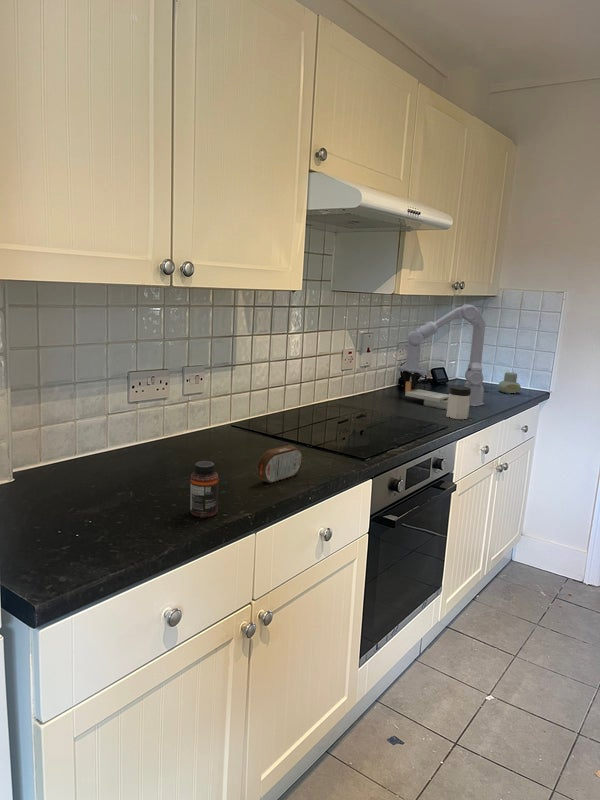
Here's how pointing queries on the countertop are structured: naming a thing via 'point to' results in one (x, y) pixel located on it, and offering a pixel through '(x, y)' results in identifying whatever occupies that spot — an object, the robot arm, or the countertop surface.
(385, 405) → the countertop surface
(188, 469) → the countertop surface
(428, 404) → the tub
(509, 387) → the air freshener
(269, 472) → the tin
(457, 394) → the jar
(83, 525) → the countertop surface
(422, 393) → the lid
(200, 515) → the supplement bottle
